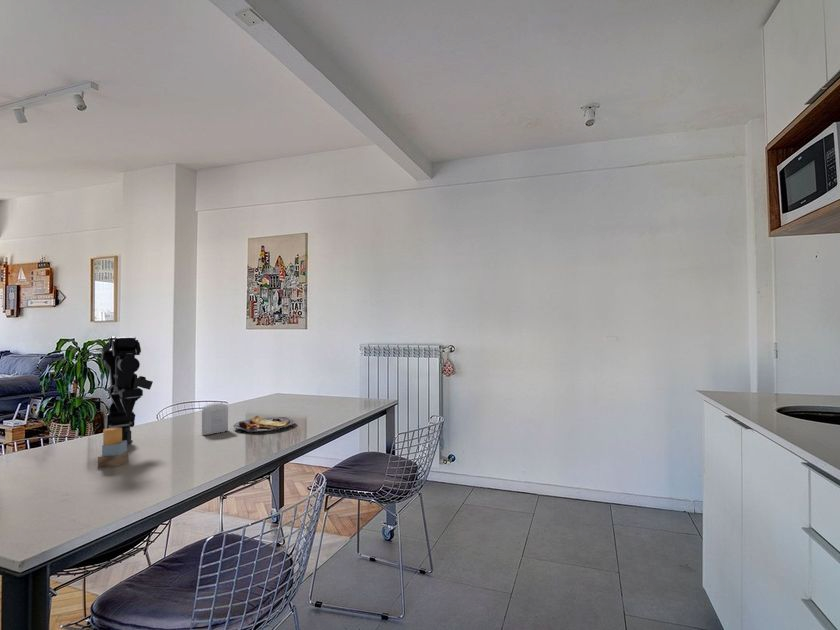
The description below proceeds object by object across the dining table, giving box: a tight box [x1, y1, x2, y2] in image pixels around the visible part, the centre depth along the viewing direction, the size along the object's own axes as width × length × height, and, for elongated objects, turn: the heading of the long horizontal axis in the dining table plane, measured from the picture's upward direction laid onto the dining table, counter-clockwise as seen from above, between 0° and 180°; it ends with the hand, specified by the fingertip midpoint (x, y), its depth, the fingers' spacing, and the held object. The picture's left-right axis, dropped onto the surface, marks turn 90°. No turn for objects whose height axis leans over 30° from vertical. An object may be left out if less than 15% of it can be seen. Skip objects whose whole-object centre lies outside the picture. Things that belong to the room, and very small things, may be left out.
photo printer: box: [201, 402, 229, 436], centre depth 182 cm, size 10×4×12 cm, turn 134°
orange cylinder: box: [102, 427, 122, 445], centre depth 142 cm, size 5×5×4 cm
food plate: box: [233, 415, 296, 433], centre depth 191 cm, size 25×23×4 cm
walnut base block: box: [97, 450, 129, 468], centre depth 142 cm, size 6×6×4 cm
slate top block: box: [101, 440, 128, 456], centre depth 143 cm, size 5×5×4 cm
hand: (125, 414), depth 157 cm, fingers open, 9 cm apart
